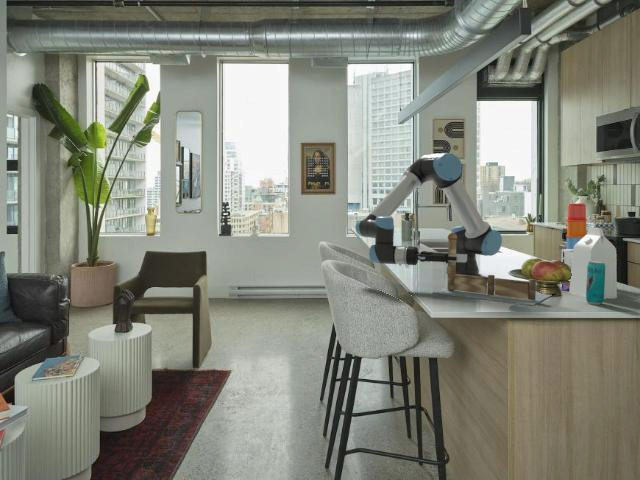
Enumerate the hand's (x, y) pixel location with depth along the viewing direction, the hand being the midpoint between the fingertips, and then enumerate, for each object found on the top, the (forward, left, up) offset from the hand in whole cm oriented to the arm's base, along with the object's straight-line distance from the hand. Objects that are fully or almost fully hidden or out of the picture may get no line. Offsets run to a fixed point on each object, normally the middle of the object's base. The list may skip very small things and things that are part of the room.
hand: (466, 258), depth 215 cm
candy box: (-35, +34, -14) cm, 50 cm away
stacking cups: (-52, +29, -14) cm, 61 cm away
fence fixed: (+1, +18, -13) cm, 22 cm away
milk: (-25, +41, -14) cm, 50 cm away
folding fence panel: (+1, +1, -13) cm, 13 cm away
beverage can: (-9, +45, -14) cm, 48 cm away
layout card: (-5, +10, -13) cm, 17 cm away
